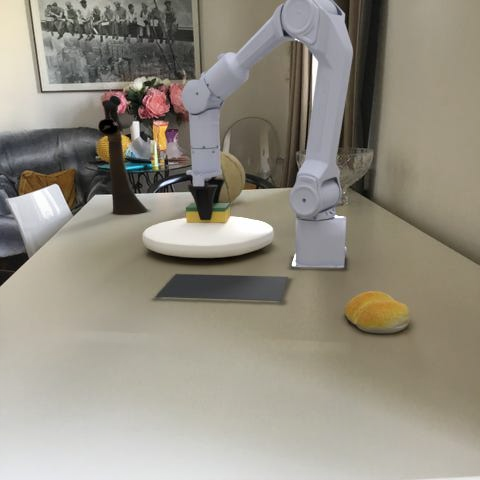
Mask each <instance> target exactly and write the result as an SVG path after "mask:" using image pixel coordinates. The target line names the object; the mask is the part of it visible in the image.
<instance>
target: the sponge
mask: <svg viewBox="0 0 480 480" xmlns="http://www.w3.org/2000/svg"><path fill="white" fill-rule="evenodd" d="M230 204H231V202H229V203H213V209H212V217H211V220H200V217H199V214H198V210H197V207H196V203H195V202H191V203H190V204H188V205H187V206H186V207H185V218H186V220H187V222H206V223H225V222H226V221H227V220H228V219H229V218H230V216H231V207H230V206H231V205H230Z"/></svg>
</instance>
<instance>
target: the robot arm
mask: <svg viewBox="0 0 480 480" xmlns="http://www.w3.org/2000/svg"><path fill="white" fill-rule="evenodd" d="M345 21H346V13H345V12H344V11H343V10H342V9H341V8H340V6H339V5H338V4H337V3H336V2H335V1H334V0H286V1H285V2H284V3H282V4H280V5H278V6H277V7H276V8H275V10H274V12H273V14H272V16H271V17H270V18H269V19H268V20H267V21H266V22H265V23H264V24H263V25H262V26H261V27H260V28H259V30H257V31H256V33H254V35H253V36H252V37H250V39H249V40H248V41H246V43H245V44H244V45H243V46H242V47H241V48H240V49H239V50H238V51H237V52H232V51H231V52H230V51H229V52H226V53H220V55H218V56H217V57H216V59H217V60H218V61H216V62H215V63H214V64H213V65H212V66H211V67H210V68H209V69H208V70H206V71H203V72H202V73H200V77H199V79H190V80H188V81H187V82H186V84H185V85H184V86H183V88H182V91H181V103H182V106H183V108H184V109H185V110H186V111H187V112H188V125H189V141H190V143H189V145H190V158H191V169H188V170H186V173H185V174H186V175H187V176H191V177H192V183H191V182H190V183H189V184H187V189H188V191H189V192H190V194H191V196H192V198H193V200H194V203H196V207H197V210H198V214H199V217H200V220H211V217H212V209H213V203H219V197H220V193H221V189H222V186H223V184H224V182H225V178H217V176H219V175H221V174H222V170H221V159H220V151H221V139H220V138H221V137H220V119H221V110H222V109H223V107H224V105H225V100H226V99H227V98H228V97H230V96H231V95H232V94H233V93H235V91H237V90H238V89H239V88H240V87H241V86H242V85H243V84H244V83H246V82H247V81H248V79H249V76H250V75H249V74H250V69H251V68H252V67H253V66H255V65H257V63H259V62H260V61H262V60H263V59H264V58H265V57H266V56H268V55H269V54H270V53H271V52H273V51H275V49H277V48H278V47H279V46H281V45H282V44H283V43H286V42H294V41H298V42H300V43H301V44H303V45H304V46H306V49H308V51H309V52H310V53H311V55H312V56H313V57H314V58H315V59H316V61H317V70H316V79H315V85H314V92H313V98H312V106H311V113H310V121H309V128H308V136H307V143H306V149H305V159H304V161H303V163H302V165H301V166H300V168H299V170H298V171H297V173H296V179H295V183H294V185H293V187H292V188H291V190H290V192H289V196H288V203H289V207H290V209H291V210H292V212H293V213H294V215H295V233H294V235H295V240H294V242H295V243H294V247H295V248H294V255H293V259H292V262H291V265H290V266H291V267H293V268H322V269H323V268H324V269H325V268H326V269H327V268H330V269H344V268H345V258H346V257H348V256H347V255H348V247H347V246H346V235H347V216H341V215H340V216H339V215H337V214H336V213H337V212H336V206H337V205H338V204H339V203H340V201H341V199H342V194H343V192H342V191H343V190H342V186H341V183H340V179H341V178H340V176H341V170H340V168H339V166H338V164H337V157H338V152H339V151H338V150H339V145H340V139H341V131H342V125H343V118H344V113H345V108H346V107H345V106H346V101H347V95H348V87H349V83H350V82H349V81H350V75H351V70H352V63H353V57H354V48H353V45H352V41H351V39H350V35H349V31H348V29H347V24H346V22H345Z"/></svg>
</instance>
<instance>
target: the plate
mask: <svg viewBox="0 0 480 480" xmlns="http://www.w3.org/2000/svg"><path fill="white" fill-rule="evenodd" d="M274 237H275V233H274V228H273V227H272V226H271V225H270V224H269V223H266V222H264V221H261V220H257V219H252V218H247V217H241V216H231V215H230V218H229V219H228V220H227V221H226V222H225V223H206V222H187V220H186V217H183V218H178V219H171V220H165V221H162V222H158V223H155V224H153V225H150V226H149V227H147V228H146V229H145V230H144V231H143V232H142V242H143V246H144V247H145V248H147V249H148V250H150V251H153V252H155V253H156V254H157V253H158V254H161V255H164V256H165V255H166V256H172V257H179V258H191V259H192V258H193V259H215V258H217V259H218V258H227V257H228V258H229V257H235V256H242V255H244V254H245V255H246V254H248V253H252V252H255V251H258V250H260V249H262V248H264V247H266V246H268V245H270V244H271V243H272V242H273V241H274Z"/></svg>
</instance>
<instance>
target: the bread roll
mask: <svg viewBox="0 0 480 480" xmlns="http://www.w3.org/2000/svg"><path fill="white" fill-rule="evenodd" d="M344 313H345V316H346V318H347V320H348V321H349V322H350V323H351V324H353V325H355V326H356V327H357V328H358V329H359V330H360V331H363V332H365V333H371V334H373V333H375V334H393V333H398V332H400V331H403V330H404V329H406V328H407V327H408V326H409V324H410V321H411V313H410V309H409V308H408V306H407V304H405V303H402V302H400V301H396V300H395V299H394V298H393V297H392V296H390V295H388V294H387V293H385V292H382V291H376V290H369V291H368V290H367V291H363V292H361V293H359V294H357V295H356V296H354V297H353V298H351V299H350V300H349V301H348V303H347V304H346V305H345V307H344Z"/></svg>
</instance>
